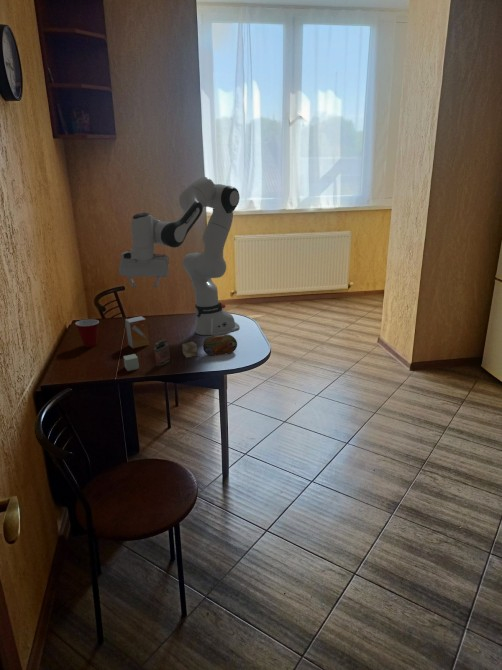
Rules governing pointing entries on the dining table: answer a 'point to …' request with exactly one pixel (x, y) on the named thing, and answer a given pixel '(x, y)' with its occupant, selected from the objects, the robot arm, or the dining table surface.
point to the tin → (219, 345)
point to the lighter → (162, 352)
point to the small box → (137, 332)
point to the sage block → (131, 362)
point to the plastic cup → (88, 331)
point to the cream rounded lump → (189, 349)
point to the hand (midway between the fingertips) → (145, 286)
